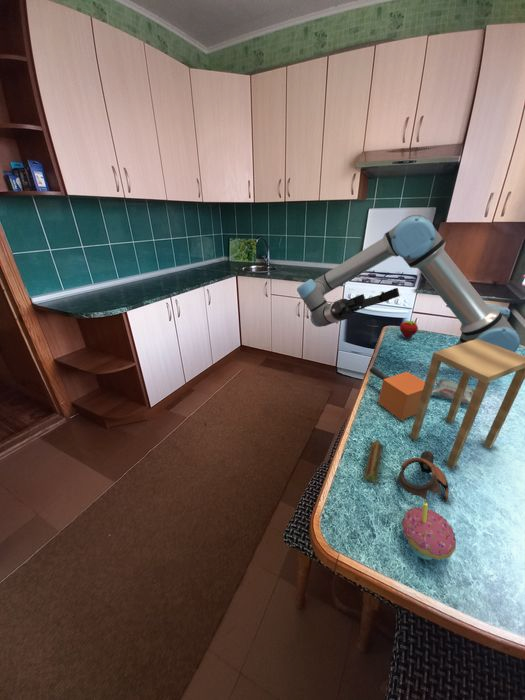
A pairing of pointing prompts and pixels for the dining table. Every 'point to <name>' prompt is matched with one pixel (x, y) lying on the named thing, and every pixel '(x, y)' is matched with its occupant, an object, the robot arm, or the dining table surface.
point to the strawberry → (408, 328)
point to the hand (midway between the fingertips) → (381, 295)
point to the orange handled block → (400, 393)
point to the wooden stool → (481, 365)
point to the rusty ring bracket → (427, 467)
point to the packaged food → (452, 391)
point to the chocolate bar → (373, 462)
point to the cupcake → (428, 533)
